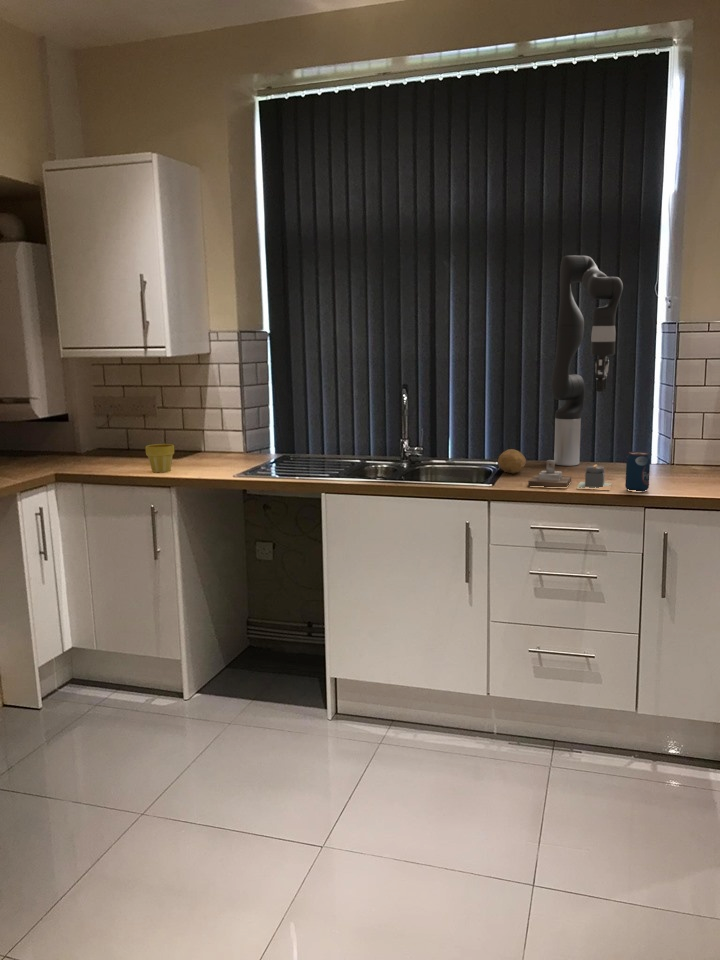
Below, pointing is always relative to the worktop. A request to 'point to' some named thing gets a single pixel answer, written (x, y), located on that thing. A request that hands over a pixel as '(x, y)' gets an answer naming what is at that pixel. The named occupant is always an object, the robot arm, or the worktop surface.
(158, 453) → the plant pot
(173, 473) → the worktop surface
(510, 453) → the potato
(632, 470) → the soda can
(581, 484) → the mat
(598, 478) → the cap
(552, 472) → the post stand
